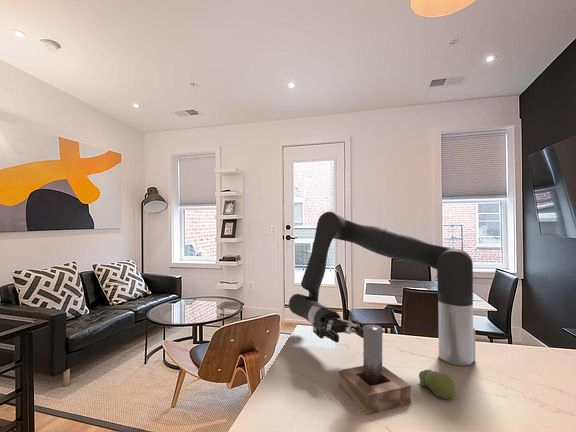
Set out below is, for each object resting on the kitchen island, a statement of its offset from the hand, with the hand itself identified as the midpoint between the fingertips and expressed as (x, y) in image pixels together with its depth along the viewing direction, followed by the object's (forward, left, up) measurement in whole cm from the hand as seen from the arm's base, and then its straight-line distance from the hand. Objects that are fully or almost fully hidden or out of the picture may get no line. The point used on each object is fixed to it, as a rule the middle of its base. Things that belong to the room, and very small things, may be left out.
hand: (351, 336), depth 83 cm
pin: (0, +9, -10) cm, 14 cm away
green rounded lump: (-15, +14, -11) cm, 23 cm away
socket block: (0, +9, -10) cm, 14 cm away
